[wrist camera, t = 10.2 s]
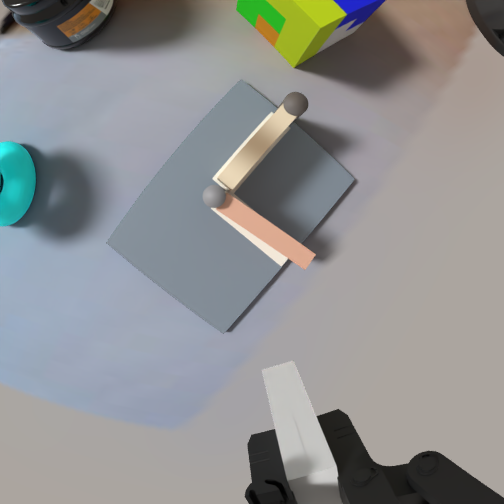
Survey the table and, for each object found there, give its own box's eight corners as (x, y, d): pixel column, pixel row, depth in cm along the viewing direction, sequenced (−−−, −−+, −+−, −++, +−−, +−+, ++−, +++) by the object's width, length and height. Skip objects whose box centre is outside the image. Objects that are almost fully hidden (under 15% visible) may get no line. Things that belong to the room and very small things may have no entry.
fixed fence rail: (279, 106, 30) (294, 87, 24) (294, 119, 30) (313, 103, 24) (215, 178, 31) (215, 175, 24) (231, 191, 31) (234, 191, 25)
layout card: (240, 81, 30) (241, 78, 29) (351, 179, 33) (355, 179, 32) (108, 241, 32) (105, 243, 31) (223, 330, 35) (223, 334, 34)
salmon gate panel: (202, 197, 31) (198, 199, 24) (212, 182, 30) (211, 180, 24) (289, 256, 33) (306, 272, 26) (299, 242, 32) (318, 254, 26)
